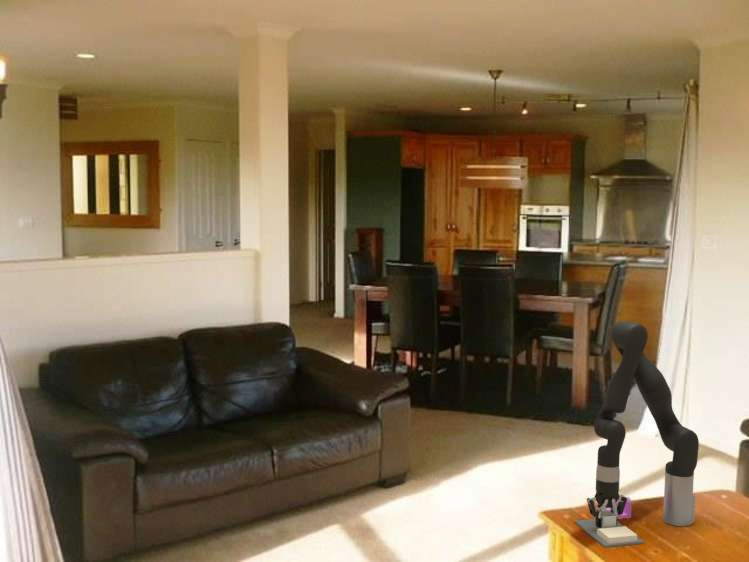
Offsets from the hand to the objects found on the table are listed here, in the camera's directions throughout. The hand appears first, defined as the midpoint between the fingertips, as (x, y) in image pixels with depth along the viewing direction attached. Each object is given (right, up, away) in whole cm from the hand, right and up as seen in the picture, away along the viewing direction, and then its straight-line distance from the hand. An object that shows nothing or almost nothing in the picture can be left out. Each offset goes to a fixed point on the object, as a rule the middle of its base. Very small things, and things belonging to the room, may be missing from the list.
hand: (605, 527), depth 285 cm
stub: (0, -1, 0) cm, 1 cm away
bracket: (+7, 0, +17) cm, 18 cm away
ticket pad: (0, -2, -1) cm, 2 cm away
